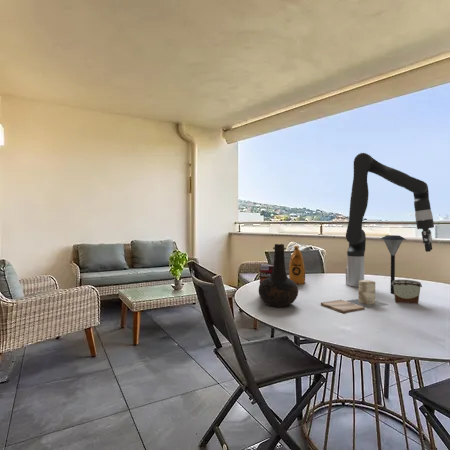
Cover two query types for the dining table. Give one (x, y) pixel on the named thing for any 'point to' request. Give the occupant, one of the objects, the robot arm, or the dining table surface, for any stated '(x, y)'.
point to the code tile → (366, 304)
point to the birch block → (367, 292)
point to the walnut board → (342, 306)
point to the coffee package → (297, 267)
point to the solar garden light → (392, 252)
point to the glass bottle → (278, 283)
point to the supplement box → (265, 271)
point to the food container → (406, 291)
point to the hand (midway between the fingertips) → (429, 250)
